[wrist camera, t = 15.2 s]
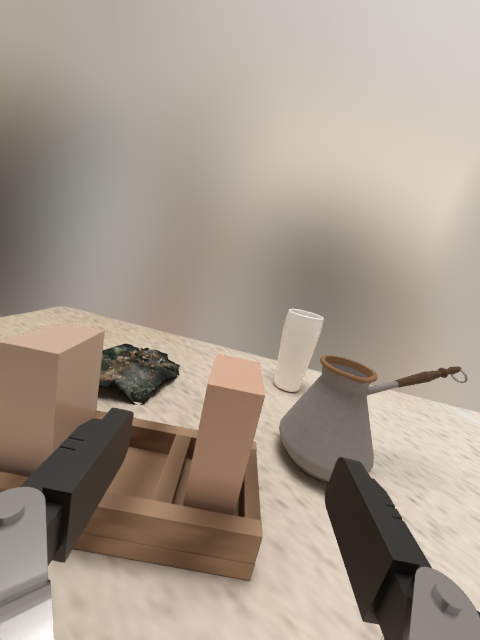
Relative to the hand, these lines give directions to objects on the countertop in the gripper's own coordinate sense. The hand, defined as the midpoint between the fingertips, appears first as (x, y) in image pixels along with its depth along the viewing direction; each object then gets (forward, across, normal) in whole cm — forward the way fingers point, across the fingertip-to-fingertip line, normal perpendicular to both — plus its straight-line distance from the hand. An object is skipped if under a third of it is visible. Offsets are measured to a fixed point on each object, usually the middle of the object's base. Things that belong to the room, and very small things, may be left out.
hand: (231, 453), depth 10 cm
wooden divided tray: (+11, +6, +15) cm, 20 cm away
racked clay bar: (+11, +14, +14) cm, 22 cm away
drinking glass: (+40, -13, +16) cm, 44 cm away
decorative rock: (+33, +15, +16) cm, 40 cm away
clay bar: (+11, 0, +14) cm, 17 cm away
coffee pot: (+21, -19, +15) cm, 32 cm away
